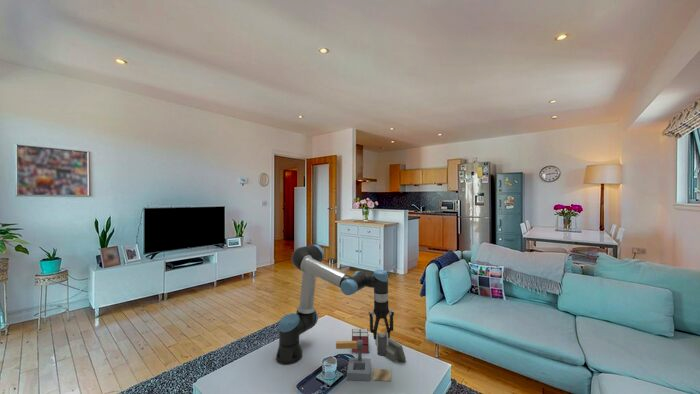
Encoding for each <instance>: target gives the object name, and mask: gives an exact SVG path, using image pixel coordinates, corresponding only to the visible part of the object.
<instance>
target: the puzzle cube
mask: <svg viewBox="0 0 700 394" xmlns="http://www.w3.org/2000/svg"><path fill="white" fill-rule="evenodd" d="M357 340H363V348H362V354H367V353H368V354H369V353H370V351H369V349H370V347H369V343H370V342H369V330H368V328H352V329H351V341H357ZM351 352H352V353H353V354H356V353H357V354H358V349H351Z"/></svg>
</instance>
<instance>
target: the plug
mask: <svg viewBox="0 0 700 394" xmlns="http://www.w3.org/2000/svg"><path fill="white" fill-rule="evenodd" d="M376 348H377V349H376V351H377V352H376V353H377V356H379V357H385V355H386V354H387V351H386V335H385V332H380V333H378V347H377V346H376Z"/></svg>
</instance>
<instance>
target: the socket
mask: <svg viewBox="0 0 700 394" xmlns="http://www.w3.org/2000/svg"><path fill="white" fill-rule="evenodd" d="M362 354H363V353H362V349H358V353H357V357H349V359H348V363H347V364H348V365H347V370H346V380H347V381H349V380H350V381H363V382H371V370H372V366H371V365H372V359H371V358H364V357H363V355H362ZM362 357H363V358H362Z"/></svg>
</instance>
